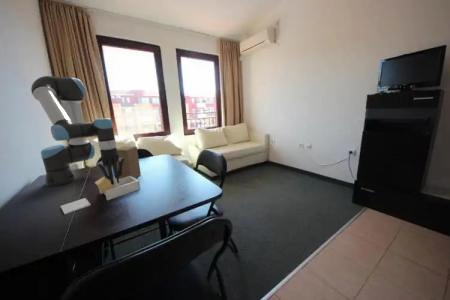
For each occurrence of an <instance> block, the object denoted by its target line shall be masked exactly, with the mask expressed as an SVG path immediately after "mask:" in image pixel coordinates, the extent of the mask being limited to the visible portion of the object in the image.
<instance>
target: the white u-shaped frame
mask: <svg viewBox="0 0 450 300" xmlns="http://www.w3.org/2000/svg"><path fill="white" fill-rule="evenodd" d="M109 182H110V181H109ZM110 183H111V182H110ZM117 184H118V187H116V188H112V189H109V190H106V191H105V194H106V195H105V198H106V200H107V201H110V200H112V199H115V198H119V197H122V196H124V195H126V194H129V193H132V192H135V191H137V190H140V189H141V187H140V186H141V185H140V180H138V179H136V177H135V178H133V177H131V176H128V177H124V178H121V179H119V183H117ZM112 186H113V185H112ZM98 191H99V194H100V195H103V194H104V193H103V192H102V191H101V190H100V188H99V187H98Z"/></svg>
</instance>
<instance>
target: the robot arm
mask: <svg viewBox="0 0 450 300" xmlns="http://www.w3.org/2000/svg"><path fill="white" fill-rule="evenodd" d="M84 85H85V84H84V83H83V82H82V80H80V79H79V78H76V77H72V76H71V77H68V76H52V75H44V76H43V75H42V76H41V77H38V78H37V79H35V80H34V81H33V83H32V84H31V88H30V90H31V95H32V96H33V98H34V99H35V100H36V101H38V102H39V103H40V105H41V107H42V108H43V110H44V112H45V113H46V115H47V117H48V118H49V121H50V122H51V124H52V125H51V127H50V133H51V135H52V138H53V139H54V141H57V142H60V141H68V142H67V144H68V145H67V146H66V145H65V144H57V145H56V144H55V145H52V146H49V147H45V148H43V149H41V151H40V156H41V159H42V163H43V166H44V170H45V178H44V184H45V186H46V187H58V186H62V185H63V186H64V185H66V184H70V183H73V182H74V181H76V179H77V177H76V174H75V173H74V170H72V168H71V167H70V166H71V165H70V164H75V163H79V162H84V161H88V160H91V159H93V158H94V157H95V153H96V150H95V149H96V148H95V146H94V144H93V142H91V141H90V140H89V139H88V138H90V137H97V141H98V146H99V149H100V150H99V151H100V156H101V158H100V161H99V162H98V163H96V166H98V167H99V168H100V171H101V172H102V174H103V177H106V178H107V179H108V180H109V182H111V184H112V185H113V187H114V188H116V187H118V184H117V183H119V176H121V175H122V166H123V161H124V159H123V158H120V157H119V156H118V153H117V149H118V148H117V143H116V138H115V131H114V124H113V121H112V119H111V118H110V117H105V118H104V117H103V118H96V119H94V121H89V122H88V121H87V122H85V121H84V116H83V115H84V114H83V109H82V103H83V102H84V98H86V97H87V92H86V88H85V86H84ZM62 103H63V104H62ZM118 159H119V165H118V171H117V164H116V163H117V161H118ZM104 165H106V169H105V167H104Z"/></svg>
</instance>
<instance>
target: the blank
mask: <svg viewBox="0 0 450 300" xmlns="http://www.w3.org/2000/svg"><path fill="white" fill-rule="evenodd" d="M94 183H95V185H96V187H98V189H99V188H100V190H101V191H102V192H103V193H102V194H104V195H105V196H106V194H105V191H106V190H109V189H112V188H114V187H113V186H112V184H111V183H110V179H107V178H106V177H105V176H103V177H100V178H99V179H97V180H96V181H94Z"/></svg>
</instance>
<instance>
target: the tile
mask: <svg viewBox="0 0 450 300" xmlns="http://www.w3.org/2000/svg"><path fill="white" fill-rule="evenodd" d="M90 206H92V205H91V203H90V202H89V200H88V199H87V198H86V197H84V198H81V199H78V200H73V201H72V202H68V203H65V204H63V205H60V208H61V210H62V212H63V214H64V215H67V214H70V213H73V212H76V211H78V210H81V209H85V208H87V207H90Z"/></svg>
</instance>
